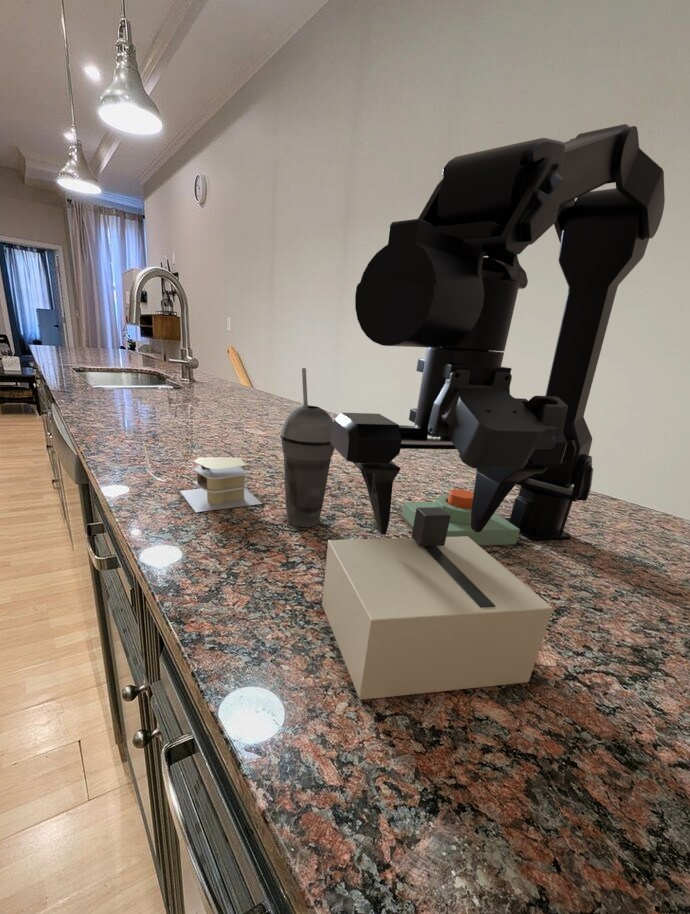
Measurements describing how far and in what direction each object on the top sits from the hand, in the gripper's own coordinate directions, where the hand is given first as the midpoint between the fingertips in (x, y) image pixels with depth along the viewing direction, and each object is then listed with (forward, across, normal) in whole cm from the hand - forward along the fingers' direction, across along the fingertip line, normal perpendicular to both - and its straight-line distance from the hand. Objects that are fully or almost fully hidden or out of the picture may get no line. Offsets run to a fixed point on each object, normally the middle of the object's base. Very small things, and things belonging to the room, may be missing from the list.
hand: (429, 531), depth 40 cm
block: (+8, +14, +18) cm, 24 cm away
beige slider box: (+8, -2, -5) cm, 10 cm away
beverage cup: (+8, -7, +21) cm, 24 cm away
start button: (+5, +14, +18) cm, 23 cm away
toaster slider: (+1, 0, 0) cm, 1 cm away
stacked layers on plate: (+8, -18, +30) cm, 36 cm away
